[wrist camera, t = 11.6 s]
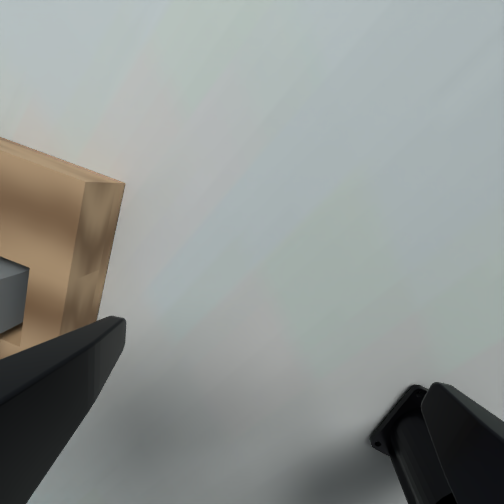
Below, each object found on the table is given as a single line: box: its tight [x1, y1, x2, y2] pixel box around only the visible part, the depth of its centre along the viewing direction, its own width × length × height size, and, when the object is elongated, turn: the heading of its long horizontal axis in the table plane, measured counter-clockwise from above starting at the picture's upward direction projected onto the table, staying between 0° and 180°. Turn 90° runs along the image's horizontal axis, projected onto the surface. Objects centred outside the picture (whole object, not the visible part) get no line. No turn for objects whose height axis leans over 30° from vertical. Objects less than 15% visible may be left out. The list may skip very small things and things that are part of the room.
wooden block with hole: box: [0, 137, 125, 359], centre depth 20 cm, size 20×12×4 cm, turn 161°
